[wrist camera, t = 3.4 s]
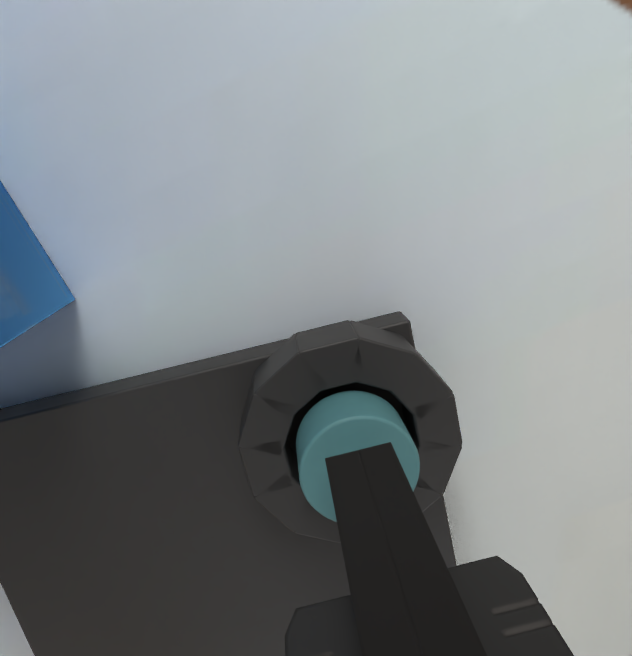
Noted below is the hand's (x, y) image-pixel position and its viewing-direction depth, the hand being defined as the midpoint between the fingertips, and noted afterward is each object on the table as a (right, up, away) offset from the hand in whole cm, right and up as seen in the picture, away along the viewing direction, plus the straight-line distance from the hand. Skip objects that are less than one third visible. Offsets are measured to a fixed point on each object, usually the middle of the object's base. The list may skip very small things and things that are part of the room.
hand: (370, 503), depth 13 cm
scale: (-4, -3, +6) cm, 8 cm away
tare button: (0, +1, +3) cm, 3 cm away
